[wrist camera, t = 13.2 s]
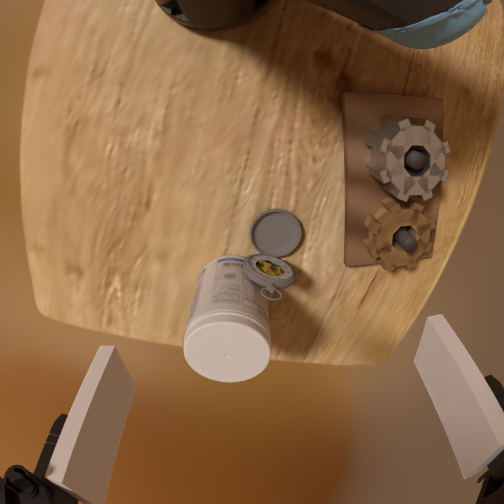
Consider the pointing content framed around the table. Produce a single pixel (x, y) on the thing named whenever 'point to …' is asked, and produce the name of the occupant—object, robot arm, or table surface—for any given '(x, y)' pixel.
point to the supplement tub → (228, 323)
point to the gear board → (376, 197)
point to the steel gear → (392, 157)
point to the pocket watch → (272, 250)
